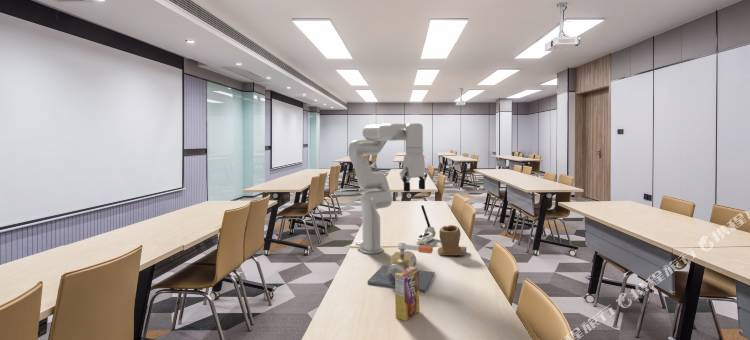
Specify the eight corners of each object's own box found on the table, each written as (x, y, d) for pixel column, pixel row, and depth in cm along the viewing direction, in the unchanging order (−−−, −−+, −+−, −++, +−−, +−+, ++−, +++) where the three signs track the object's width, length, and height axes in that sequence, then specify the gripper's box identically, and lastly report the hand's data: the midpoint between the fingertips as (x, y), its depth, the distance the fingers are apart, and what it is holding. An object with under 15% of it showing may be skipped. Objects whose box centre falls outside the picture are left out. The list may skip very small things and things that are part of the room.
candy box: (409, 307, 124) (409, 265, 123) (419, 311, 121) (420, 268, 120) (394, 317, 117) (394, 273, 116) (404, 321, 115) (405, 276, 113)
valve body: (367, 283, 144) (367, 253, 143) (382, 267, 162) (382, 240, 161) (425, 292, 136) (425, 260, 135) (434, 274, 154) (434, 246, 152)
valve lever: (397, 249, 147) (397, 245, 146) (399, 247, 150) (399, 242, 150) (431, 253, 142) (431, 248, 141) (432, 251, 145) (432, 246, 145)
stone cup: (438, 258, 175) (438, 228, 173) (437, 250, 187) (437, 222, 185) (469, 259, 173) (469, 229, 171) (466, 251, 185) (466, 223, 183)
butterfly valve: (429, 245, 193) (439, 235, 208) (418, 211, 193) (429, 203, 208) (415, 248, 198) (426, 237, 212) (404, 214, 197) (416, 206, 212)
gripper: (421, 151, 163) (421, 187, 164) (394, 152, 152) (394, 191, 153) (433, 151, 157) (433, 189, 158) (406, 152, 146) (406, 193, 147)
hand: (414, 190), depth 156 cm, fingers open, 9 cm apart
